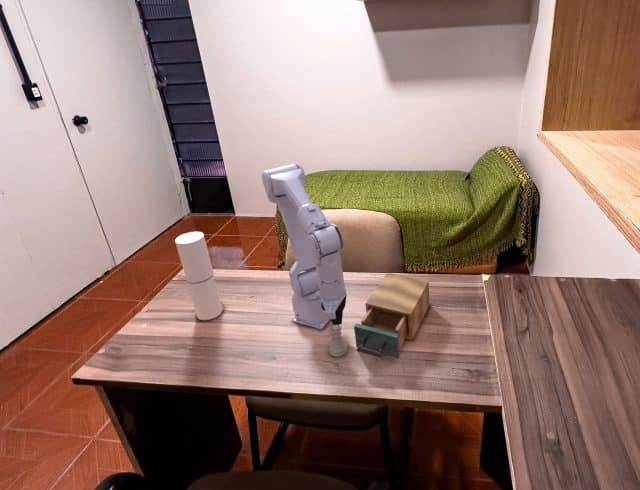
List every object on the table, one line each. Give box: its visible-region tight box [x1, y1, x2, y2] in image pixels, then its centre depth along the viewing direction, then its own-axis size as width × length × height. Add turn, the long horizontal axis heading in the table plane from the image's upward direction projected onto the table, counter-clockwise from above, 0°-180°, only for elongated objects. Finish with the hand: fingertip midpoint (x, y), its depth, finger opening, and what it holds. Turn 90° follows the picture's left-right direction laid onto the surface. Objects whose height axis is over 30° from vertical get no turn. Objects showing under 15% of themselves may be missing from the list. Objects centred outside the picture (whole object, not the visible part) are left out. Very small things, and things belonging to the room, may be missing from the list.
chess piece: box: [327, 323, 348, 357], centre depth 97 cm, size 4×4×8 cm
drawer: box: [353, 307, 409, 360], centre depth 98 cm, size 18×11×7 cm, turn 156°
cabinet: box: [365, 272, 430, 341], centre depth 107 cm, size 15×13×9 cm
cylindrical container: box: [174, 231, 224, 321], centre depth 111 cm, size 7×7×25 cm
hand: (337, 322), depth 94 cm, fingers closed
